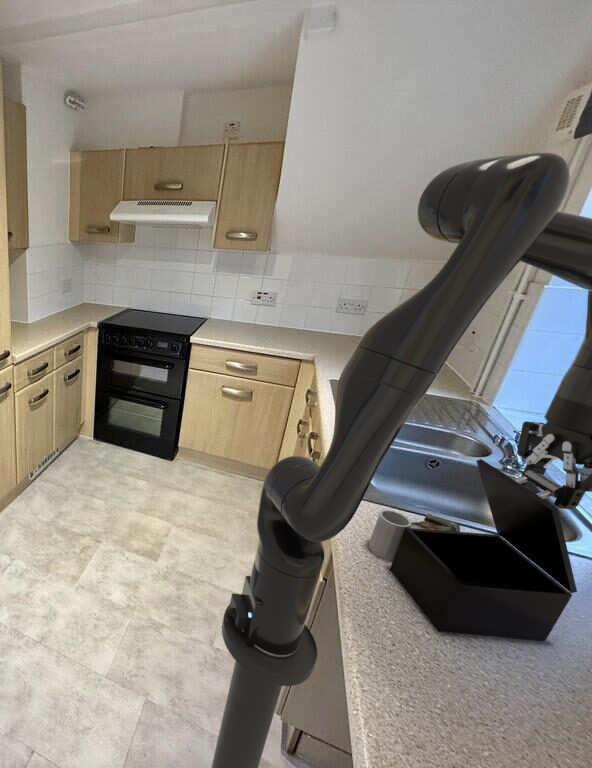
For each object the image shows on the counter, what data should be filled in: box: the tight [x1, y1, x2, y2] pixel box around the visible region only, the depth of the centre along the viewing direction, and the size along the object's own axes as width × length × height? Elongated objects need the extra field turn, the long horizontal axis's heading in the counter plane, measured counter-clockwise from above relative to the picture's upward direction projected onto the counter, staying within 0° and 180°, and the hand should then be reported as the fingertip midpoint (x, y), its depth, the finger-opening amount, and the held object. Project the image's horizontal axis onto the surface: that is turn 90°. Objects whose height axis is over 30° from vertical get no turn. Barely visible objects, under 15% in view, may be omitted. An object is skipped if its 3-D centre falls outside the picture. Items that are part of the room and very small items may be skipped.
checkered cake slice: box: [410, 513, 461, 532], centre depth 89 cm, size 10×7×12 cm
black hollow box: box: [389, 528, 573, 642], centre depth 73 cm, size 17×14×10 cm
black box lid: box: [476, 458, 578, 594], centre depth 68 cm, size 17×14×5 cm
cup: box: [368, 509, 412, 561], centre depth 85 cm, size 5×5×8 cm
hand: (545, 496), depth 66 cm, fingers closed on black box lid, 5 cm apart
